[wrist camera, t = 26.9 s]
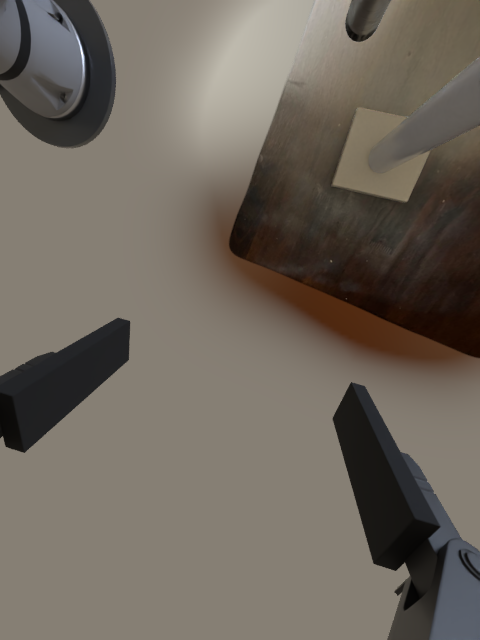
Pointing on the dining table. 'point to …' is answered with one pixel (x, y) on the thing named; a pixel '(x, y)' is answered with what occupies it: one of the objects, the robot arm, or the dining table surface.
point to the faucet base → (358, 159)
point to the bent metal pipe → (364, 18)
